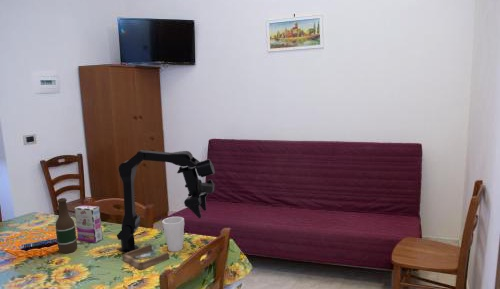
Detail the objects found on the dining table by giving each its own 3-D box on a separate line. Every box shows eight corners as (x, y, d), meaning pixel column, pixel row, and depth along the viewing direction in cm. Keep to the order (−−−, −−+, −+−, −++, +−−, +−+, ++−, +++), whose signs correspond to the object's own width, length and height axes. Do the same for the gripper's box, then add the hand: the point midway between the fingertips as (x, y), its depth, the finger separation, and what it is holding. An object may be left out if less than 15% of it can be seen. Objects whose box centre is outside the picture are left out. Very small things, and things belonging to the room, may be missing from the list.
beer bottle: (81, 248, 178) (75, 197, 174) (67, 255, 171) (60, 202, 167) (69, 246, 181) (63, 195, 177) (54, 252, 174) (47, 200, 170)
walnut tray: (122, 260, 163) (122, 254, 163) (150, 249, 172) (149, 244, 172) (140, 270, 153) (140, 264, 153) (169, 258, 162) (168, 252, 162)
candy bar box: (103, 239, 187) (99, 206, 185) (95, 243, 183) (92, 209, 180) (85, 236, 192) (81, 204, 189) (77, 240, 187) (73, 207, 184)
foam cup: (181, 253, 167) (179, 224, 165) (161, 252, 169) (158, 223, 167) (189, 244, 176) (187, 216, 174) (169, 243, 178) (167, 216, 176)
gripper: (204, 181, 157) (215, 217, 159) (214, 170, 175) (224, 202, 177) (178, 188, 159) (190, 223, 161) (191, 176, 177) (201, 208, 179)
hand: (202, 214), depth 170 cm, fingers open, 9 cm apart
